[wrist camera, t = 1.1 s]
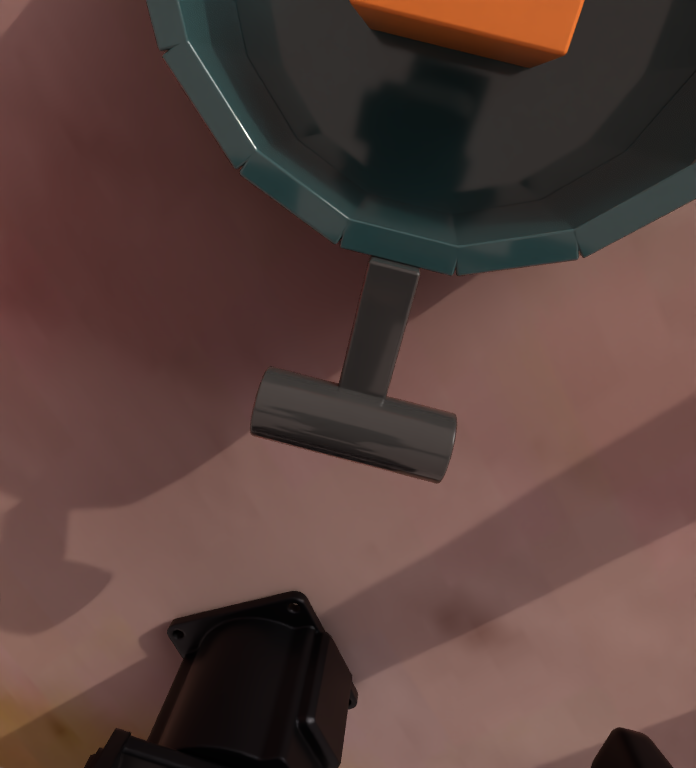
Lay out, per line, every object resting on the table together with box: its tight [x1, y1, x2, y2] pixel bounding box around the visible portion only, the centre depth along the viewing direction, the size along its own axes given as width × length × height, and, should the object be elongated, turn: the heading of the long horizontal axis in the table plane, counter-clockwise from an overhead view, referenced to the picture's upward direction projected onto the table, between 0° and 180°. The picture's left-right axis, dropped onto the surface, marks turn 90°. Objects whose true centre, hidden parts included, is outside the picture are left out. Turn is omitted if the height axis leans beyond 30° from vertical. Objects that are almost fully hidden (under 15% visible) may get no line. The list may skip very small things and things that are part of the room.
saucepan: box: [146, 0, 696, 484], centre depth 14 cm, size 19×14×6 cm
